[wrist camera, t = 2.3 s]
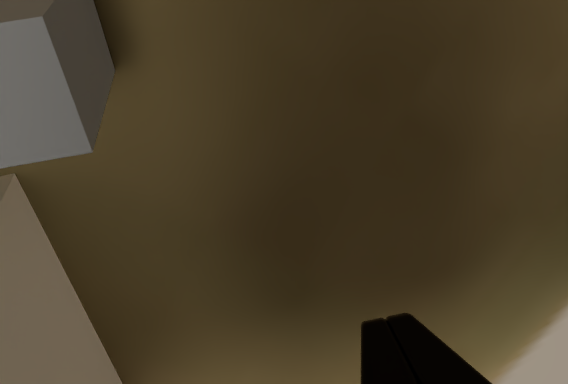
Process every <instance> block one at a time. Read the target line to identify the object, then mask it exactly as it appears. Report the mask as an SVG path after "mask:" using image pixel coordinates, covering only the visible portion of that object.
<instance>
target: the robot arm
mask: <svg viewBox="0 0 568 384" xmlns="http://www.w3.org/2000/svg"><path fill="white" fill-rule="evenodd" d="M361 384H492V383H490V382H489V381H488V380H487V379H486V378H485V377H483V376H482V375H481V374H480V373H479V372H478V371H476V370H475V369H474V368H473V367H472V366H471V365H469V364H468V363H467V362H466V361H465V360H464V359H462V358H461V357H460V356H459V355H458V354H457V353H455V352H454V351H453V350H452V349H451V348H450V347H448V346H447V345H446V344H445V343H444V342H443V341H441V340H440V339H439V338H438V337H437V336H436V335H434V334H433V333H432V332H431V331H430V330H429V329H427V328H426V327H425V326H424V325H423V324H421V323H420V322H419V321H418V320H417V319H416V318H414V317H413V316H412V315H411V314H408V313H402V314H397V315H392V316H388V317H387V318H386V319H383V318H378V319H373V320H368V321H364V322H362V324H361Z"/></svg>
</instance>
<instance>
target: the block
mask: <svg viewBox="0 0 568 384" xmlns="http://www.w3.org/2000/svg"><path fill="white" fill-rule="evenodd" d="M0 384H122V382H121V380H120V378H119V376H118V374H117V372H116V370H115V368H114V366H113V364H112V362H111V360H110V358H109V356H108V355H107V353H106V351H105V349H104V347H103V345H102V343H101V341H100V339H99V337H98V335H97V333H96V331H95V329H94V327H93V325H92V323H91V321H90V319H89V317H88V315H87V314H86V312H85V310H84V308H83V306H82V304H81V302H80V300H79V298H78V296H77V294H76V292H75V290H74V288H73V286H72V284H71V282H70V280H69V278H68V276H67V274H66V273H65V271H64V269H63V267H62V265H61V263H60V261H59V259H58V257H57V255H56V253H55V251H54V249H53V247H52V245H51V243H50V241H49V239H48V237H47V235H46V233H45V232H44V230H43V228H42V226H41V224H40V222H39V220H38V218H37V216H36V214H35V212H34V210H33V208H32V206H31V204H30V202H29V200H28V198H27V196H26V194H25V193H24V191H23V189H22V187H21V185H20V183H19V181H18V179H17V177H16V175H15V173H13V174H8V175H3V176H0Z"/></svg>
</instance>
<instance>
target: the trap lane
mask: <svg viewBox="0 0 568 384" xmlns="http://www.w3.org/2000/svg"><path fill="white" fill-rule="evenodd" d="M114 74H115V68H114V65H113V62H112V59H111V55H110V52H109V49H108V46H107V43H106V39H105V36H104V33H103V30H102V26H101V23H100V20H99V17H98V13H97V10H96V7H95V4H94V0H0V168H6V167H12V166H18V165H23V164H29V163H35V162H41V161H46V160H52V159H58V158H64V157H69V156H75V155H81V154H87V153H92V152H93V149H94V146H95V142H96V138H97V135H98V131H99V128H100V124H101V120H102V117H103V113H104V110H105V106H106V102H107V99H108V95H109V92H110V88H111V84H112V81H113V77H114Z"/></svg>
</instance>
